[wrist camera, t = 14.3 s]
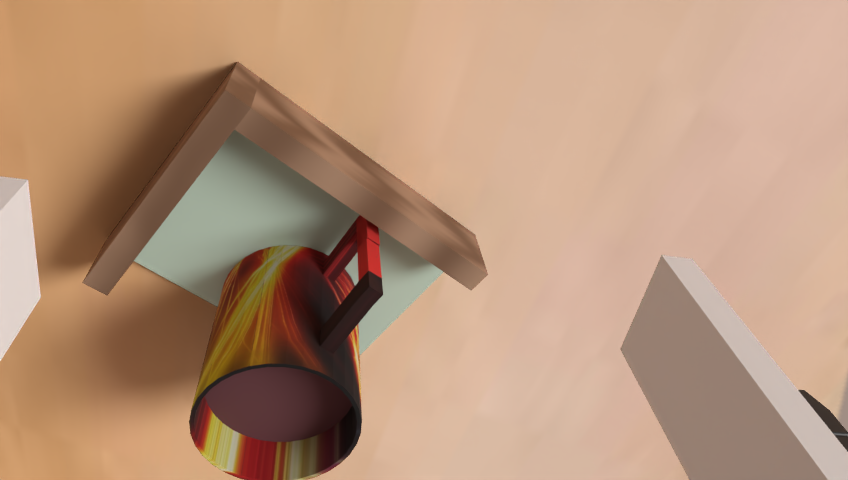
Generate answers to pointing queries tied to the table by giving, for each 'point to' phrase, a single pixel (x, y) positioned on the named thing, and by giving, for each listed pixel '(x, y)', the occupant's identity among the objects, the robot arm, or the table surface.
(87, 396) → the table surface
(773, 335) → the table surface
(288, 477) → the mug
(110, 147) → the table surface
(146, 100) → the table surface
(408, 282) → the mat
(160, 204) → the walls
